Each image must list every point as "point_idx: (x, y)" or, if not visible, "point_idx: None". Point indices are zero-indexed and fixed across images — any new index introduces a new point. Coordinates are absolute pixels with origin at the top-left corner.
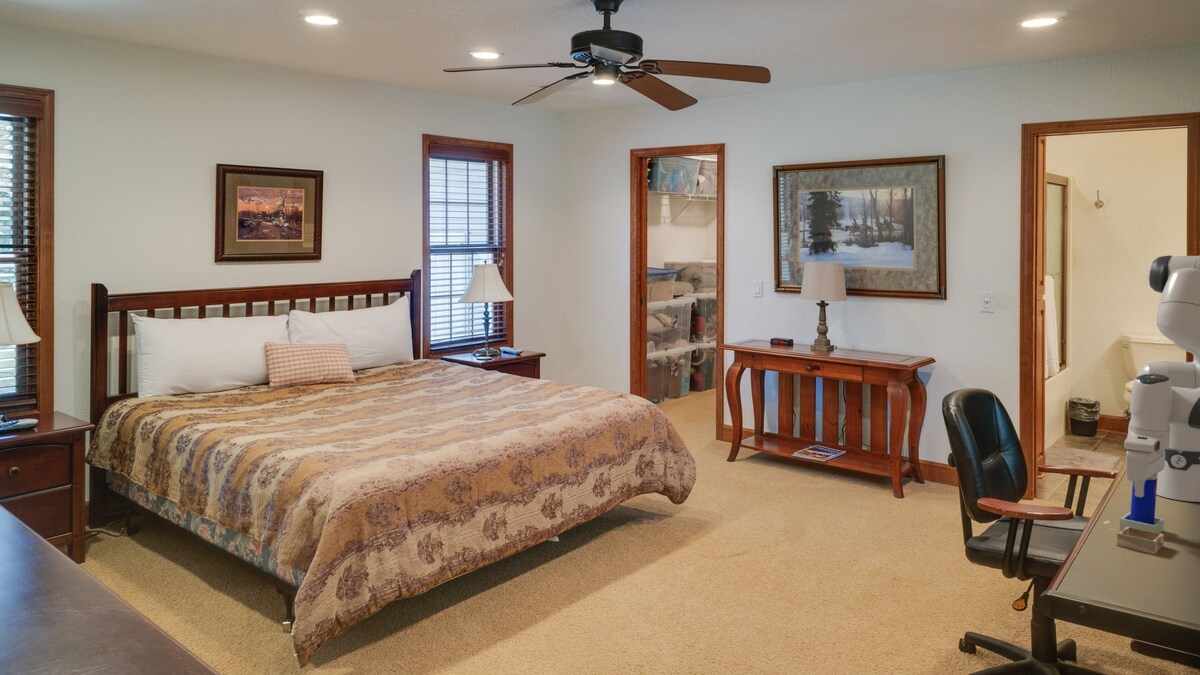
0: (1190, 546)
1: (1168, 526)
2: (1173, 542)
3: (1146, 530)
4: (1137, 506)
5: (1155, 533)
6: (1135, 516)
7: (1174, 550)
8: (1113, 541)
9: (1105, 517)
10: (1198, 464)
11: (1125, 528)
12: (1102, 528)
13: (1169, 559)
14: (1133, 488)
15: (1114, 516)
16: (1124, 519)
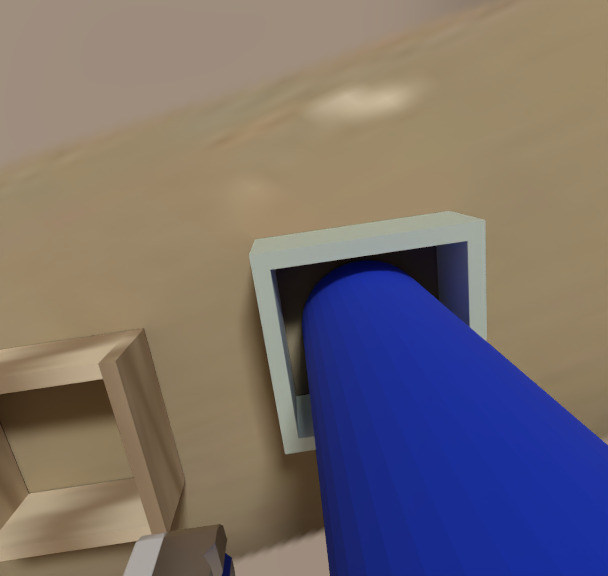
0: (296, 540)
1: (559, 368)
2: (290, 482)
3: (142, 460)
4: (314, 395)
5: (143, 503)
6: (307, 343)
7: (170, 528)
8: (12, 312)
9: (469, 48)
10: None
11: (52, 375)
12: (197, 156)
13: (20, 562)
14: (375, 454)
15: (542, 79)
16: (258, 281)
